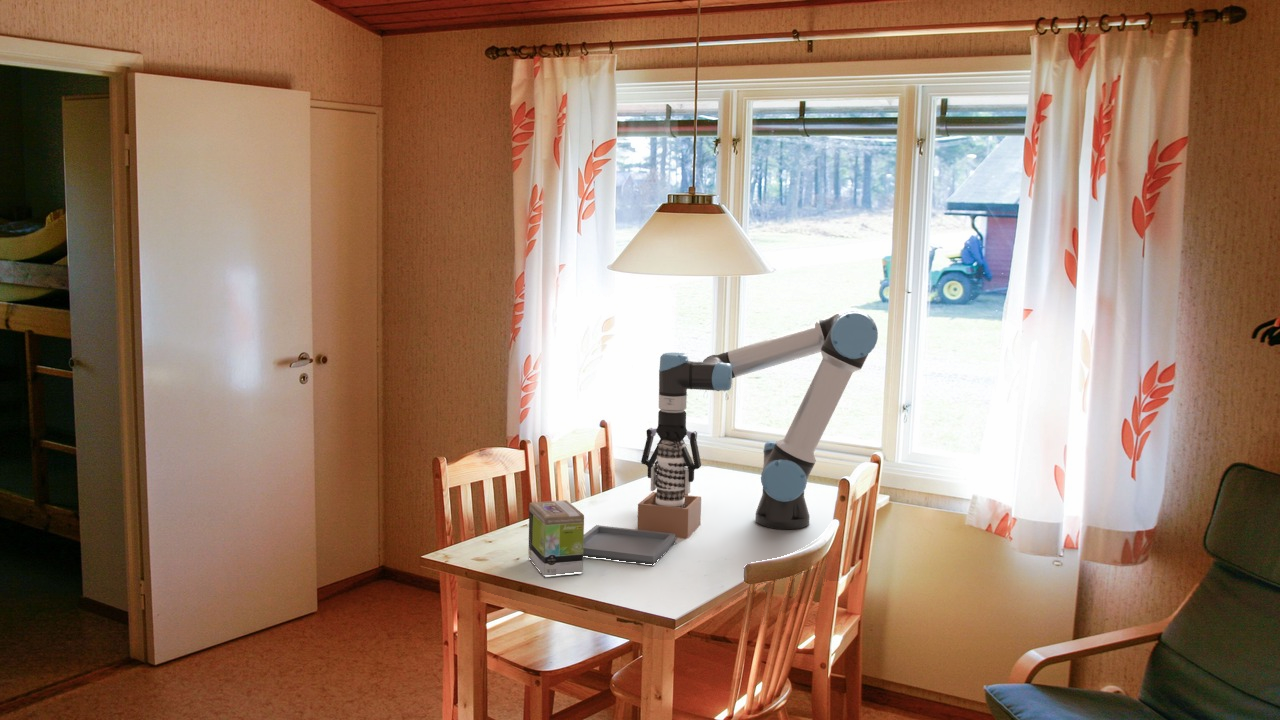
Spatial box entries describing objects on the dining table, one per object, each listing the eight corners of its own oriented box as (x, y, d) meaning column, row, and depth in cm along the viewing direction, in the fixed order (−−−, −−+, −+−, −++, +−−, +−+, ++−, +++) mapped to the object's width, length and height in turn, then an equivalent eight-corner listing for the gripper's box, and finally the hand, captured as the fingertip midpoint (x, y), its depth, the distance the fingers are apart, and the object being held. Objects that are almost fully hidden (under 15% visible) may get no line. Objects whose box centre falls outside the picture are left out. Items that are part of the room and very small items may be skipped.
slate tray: (675, 543, 272) (675, 533, 272) (653, 566, 253) (653, 556, 253) (596, 534, 278) (596, 525, 278) (568, 555, 260) (569, 546, 259)
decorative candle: (690, 526, 287) (693, 437, 284) (679, 535, 279) (682, 444, 276) (659, 522, 291) (662, 434, 287) (647, 531, 282) (650, 440, 279)
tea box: (584, 575, 246) (585, 514, 244) (543, 579, 242) (543, 517, 240) (566, 556, 260) (567, 498, 258) (527, 559, 256) (527, 501, 254)
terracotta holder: (700, 524, 289) (701, 496, 288) (687, 538, 276) (688, 509, 275) (652, 519, 293) (653, 491, 292) (637, 533, 280) (637, 504, 279)
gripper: (629, 409, 280) (628, 490, 283) (708, 415, 274) (705, 498, 277) (638, 405, 287) (636, 484, 290) (714, 410, 281) (712, 492, 284)
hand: (670, 491), depth 283 cm, fingers closed on decorative candle, 9 cm apart
